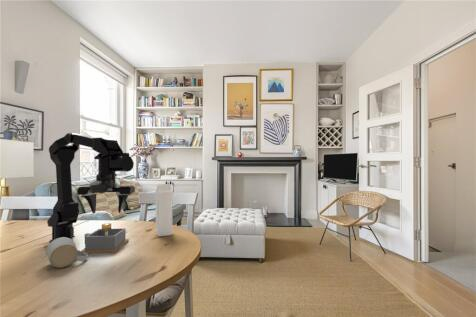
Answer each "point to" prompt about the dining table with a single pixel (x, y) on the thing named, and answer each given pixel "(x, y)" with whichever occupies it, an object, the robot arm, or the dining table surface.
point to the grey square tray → (105, 241)
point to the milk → (164, 210)
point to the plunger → (106, 228)
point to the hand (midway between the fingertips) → (106, 212)
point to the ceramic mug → (64, 252)
